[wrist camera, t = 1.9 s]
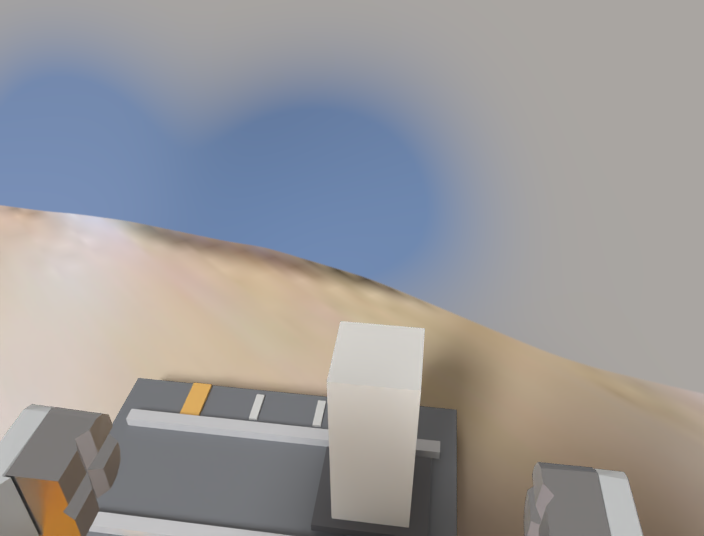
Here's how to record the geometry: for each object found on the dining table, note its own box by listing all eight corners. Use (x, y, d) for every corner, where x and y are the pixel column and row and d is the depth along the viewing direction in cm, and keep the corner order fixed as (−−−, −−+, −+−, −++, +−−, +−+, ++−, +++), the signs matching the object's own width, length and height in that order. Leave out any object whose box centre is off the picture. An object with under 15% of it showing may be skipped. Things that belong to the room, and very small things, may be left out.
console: (453, 430, 41) (457, 403, 39) (452, 665, 29) (458, 639, 28) (144, 398, 43) (136, 371, 42) (33, 605, 32) (17, 578, 30)
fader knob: (430, 463, 36) (446, 323, 30) (427, 544, 32) (445, 402, 26) (327, 451, 37) (321, 312, 31) (311, 530, 33) (301, 388, 26)
